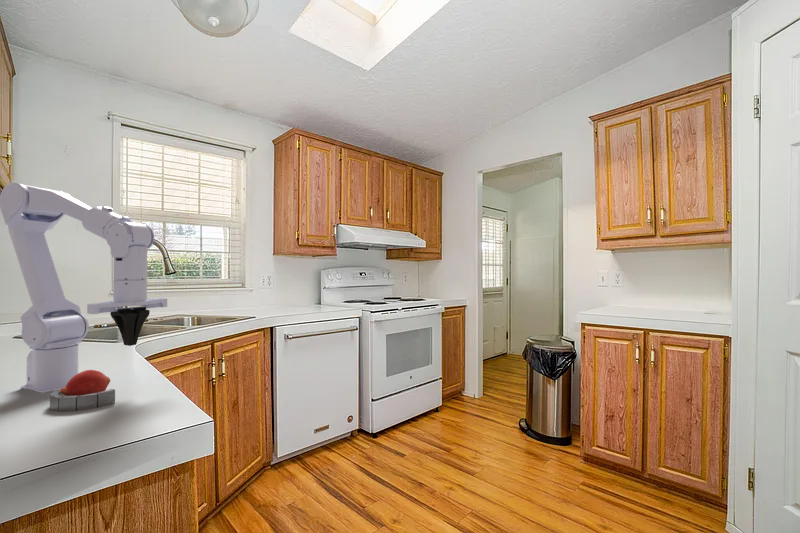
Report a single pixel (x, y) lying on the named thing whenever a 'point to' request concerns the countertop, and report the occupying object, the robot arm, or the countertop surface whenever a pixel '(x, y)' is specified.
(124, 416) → the countertop surface
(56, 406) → the split collar
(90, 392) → the onion
